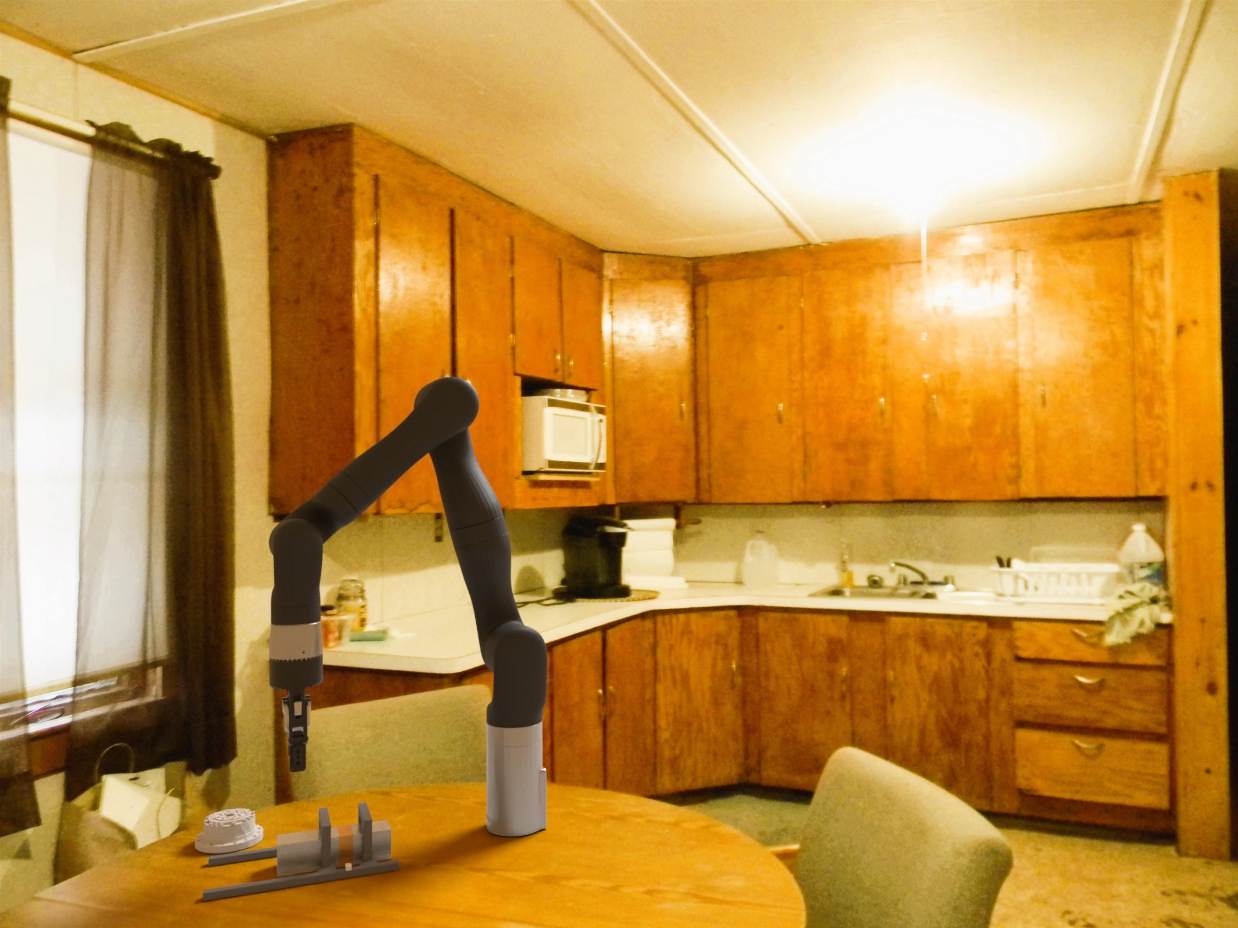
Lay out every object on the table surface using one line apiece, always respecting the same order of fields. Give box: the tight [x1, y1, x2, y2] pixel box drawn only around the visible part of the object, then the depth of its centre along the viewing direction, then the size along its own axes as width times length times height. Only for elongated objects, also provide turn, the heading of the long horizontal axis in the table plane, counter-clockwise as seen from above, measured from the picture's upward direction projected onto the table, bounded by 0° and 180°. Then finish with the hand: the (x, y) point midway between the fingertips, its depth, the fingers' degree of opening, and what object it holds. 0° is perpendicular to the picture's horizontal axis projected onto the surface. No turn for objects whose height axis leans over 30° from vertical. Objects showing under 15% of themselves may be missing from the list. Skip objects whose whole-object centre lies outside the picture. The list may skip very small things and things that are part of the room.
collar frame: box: [202, 801, 400, 902], centre depth 130 cm, size 26×14×7 cm, turn 112°
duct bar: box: [276, 819, 392, 878], centre depth 131 cm, size 16×4×4 cm, turn 112°
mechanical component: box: [194, 807, 264, 854], centre depth 140 cm, size 10×4×10 cm
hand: (296, 763), depth 130 cm, fingers open, 8 cm apart
